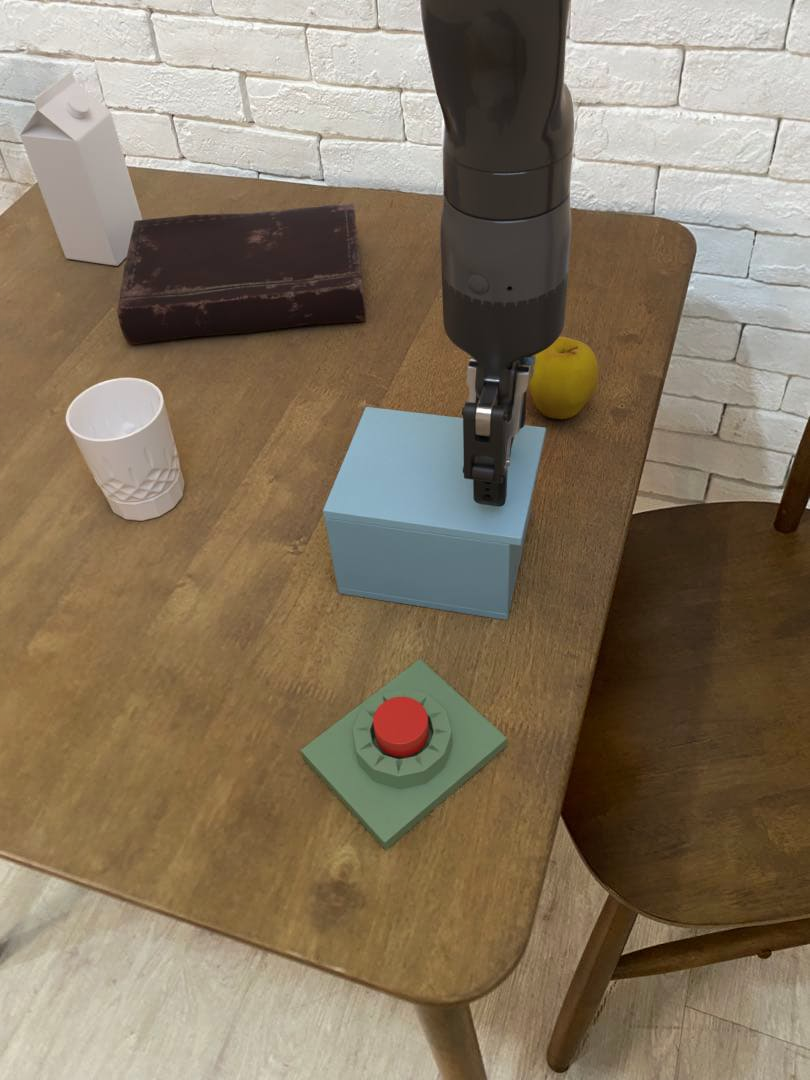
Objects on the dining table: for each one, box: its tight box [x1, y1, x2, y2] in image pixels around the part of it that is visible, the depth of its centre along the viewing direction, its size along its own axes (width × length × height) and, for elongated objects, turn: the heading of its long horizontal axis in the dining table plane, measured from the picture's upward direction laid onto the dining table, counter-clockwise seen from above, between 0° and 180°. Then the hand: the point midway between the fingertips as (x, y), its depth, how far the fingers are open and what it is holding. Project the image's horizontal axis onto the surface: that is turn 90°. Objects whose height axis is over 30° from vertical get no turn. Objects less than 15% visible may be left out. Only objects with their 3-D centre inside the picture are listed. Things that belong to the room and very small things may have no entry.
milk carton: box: [19, 70, 143, 267], centre depth 105 cm, size 7×7×19 cm
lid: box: [322, 406, 547, 546], centre depth 68 cm, size 14×12×6 cm
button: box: [373, 697, 429, 757], centre depth 62 cm, size 4×4×2 cm
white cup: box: [65, 377, 185, 522], centre depth 80 cm, size 8×8×10 cm
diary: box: [116, 202, 367, 345], centre depth 102 cm, size 19×25×5 cm
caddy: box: [324, 498, 533, 621], centre depth 74 cm, size 14×12×9 cm
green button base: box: [300, 658, 508, 851], centre depth 64 cm, size 11×9×3 cm
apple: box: [528, 335, 600, 420], centre depth 85 cm, size 6×6×8 cm
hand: (500, 461), depth 68 cm, fingers open, 7 cm apart
